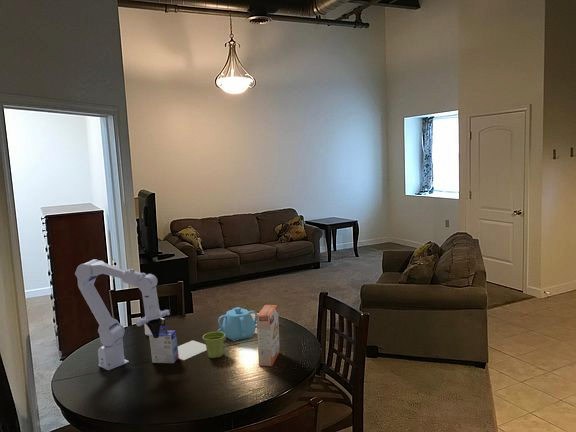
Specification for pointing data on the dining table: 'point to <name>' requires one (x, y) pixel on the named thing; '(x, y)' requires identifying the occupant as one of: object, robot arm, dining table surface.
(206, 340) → the plant pot
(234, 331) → the light blue teapot
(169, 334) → the ink cartridge box
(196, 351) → the mat
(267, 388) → the dining table surface
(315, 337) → the dining table surface
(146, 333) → the medicine bottle
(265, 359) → the cracker box
